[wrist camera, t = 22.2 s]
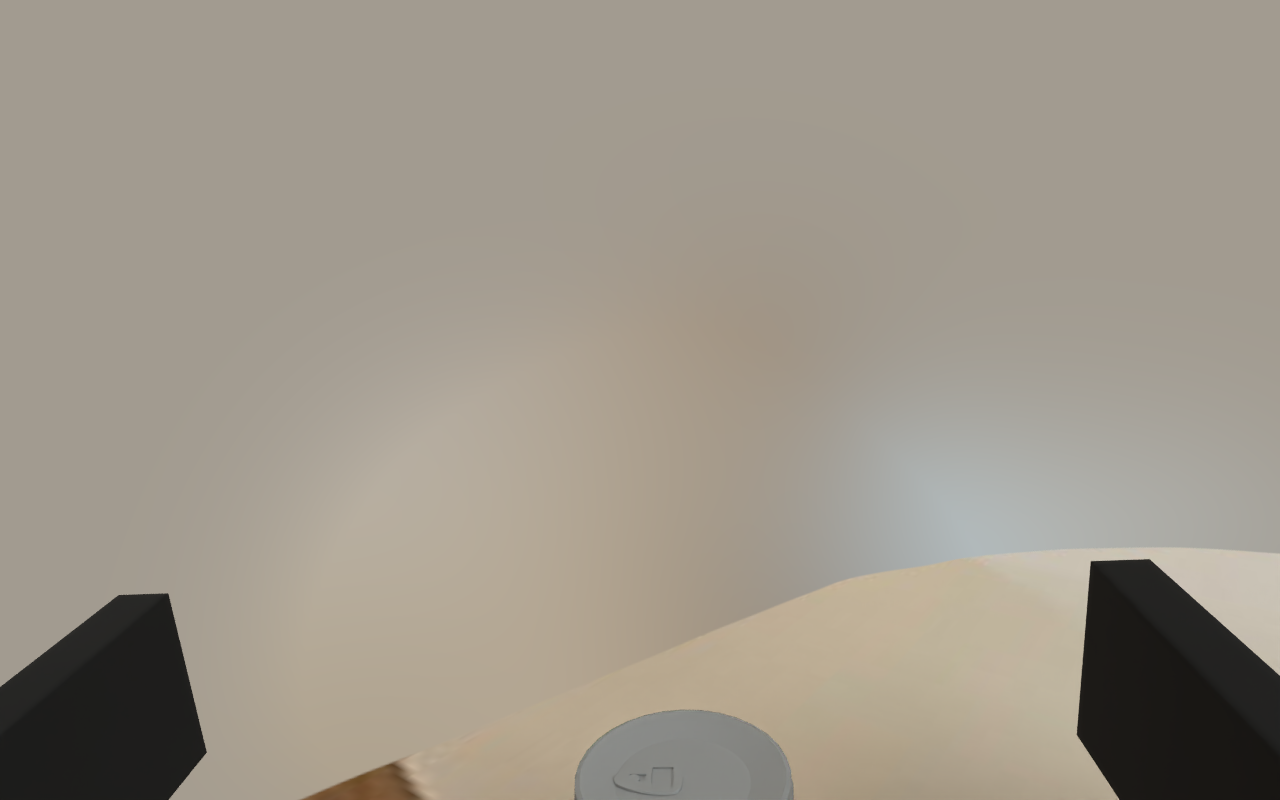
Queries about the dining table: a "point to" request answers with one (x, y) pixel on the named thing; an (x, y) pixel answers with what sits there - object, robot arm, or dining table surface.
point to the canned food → (684, 760)
